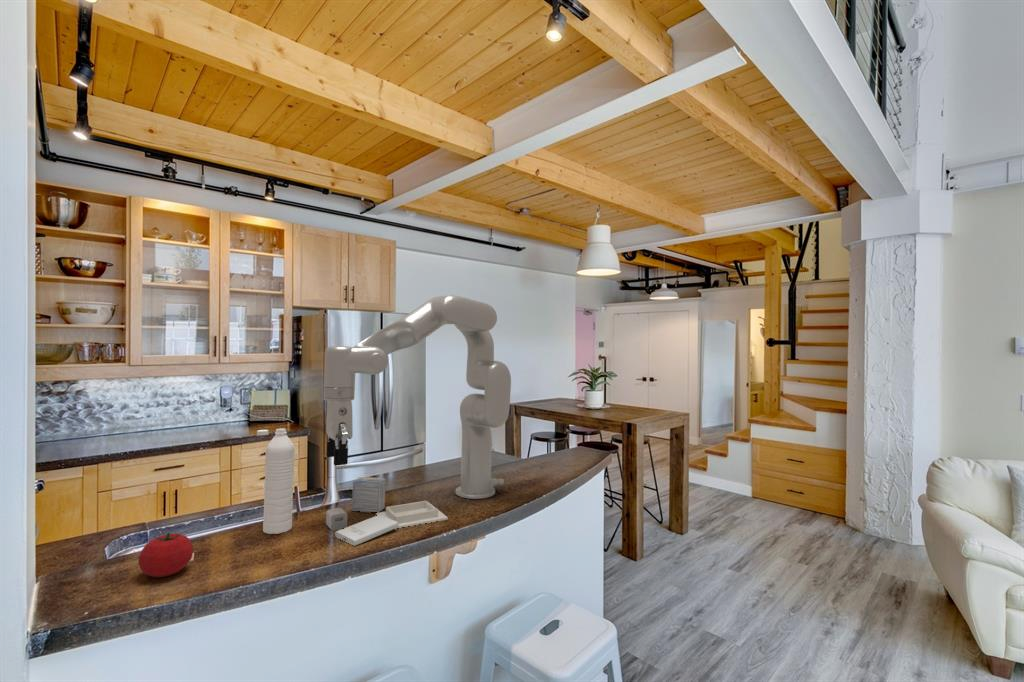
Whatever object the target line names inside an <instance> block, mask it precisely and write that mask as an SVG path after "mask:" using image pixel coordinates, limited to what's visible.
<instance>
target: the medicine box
mask: <svg viewBox="0 0 1024 682" xmlns="http://www.w3.org/2000/svg"><path fill="white" fill-rule="evenodd" d="M351 499H352V502H351V503H352V504H351V505H352V506H351V511H360V512H359V513H371V512H377V513H379V512H380V511H381V512H383V510H384V509H386V503H385V502H386V478H384V477H371V476H369V477H367V476H359V477H357V478H355V480H353V481H352V498H351Z"/></svg>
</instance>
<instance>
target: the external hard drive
mask: <svg viewBox="0 0 1024 682" xmlns="http://www.w3.org/2000/svg"><path fill="white" fill-rule="evenodd" d="M396 528H398V522H397V521H394V520H392V519H389V518H387V517H384V516H382V515H377V516H376V515H375V516H373V517H369V518H367V519H365V520H362V521H360V522H357V523H354V524H352V525H349V526H347V527H346V528H344V529H339V530H335V532H334V537H335V538H336V539H339V540H340V539H341V540H340V541H342V540H343V541H342V542H344V541H345V542H344V543H346V542H347V543H346V544H348V543H349V544H348V545H350V544H351V545H350V546H352V545H353V546H352V547H354V546H355V547H356V546H358V545H360V544H362V543H363V544H364V542H367V541H369V540H372V539H374V538H376V537H380V536H382V535H383V534H386V533H388V532H391V531H393V529H394V530H397V529H396Z"/></svg>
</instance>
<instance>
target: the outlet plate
mask: <svg viewBox="0 0 1024 682" xmlns="http://www.w3.org/2000/svg"><path fill="white" fill-rule="evenodd" d="M376 515H382V516H384V517H387V518H389V519H392V520H394V521H397V522H398V528H399V529H403V528H402V527H405V528H409V527H408V526H410V527H415V526H414V525H416V526H420V525H419V524H421V525H426V524H425V523H427V524H431V522H432V523H437V522H436V521H438V522H442V521H446V520H447V521H448V520H449V519H448V516H447V515H446V514H444V513H443V512H442V511H441V510H439V509H438V508H437V507H436V506H434V505H433V504H432V503H430V502H429V501H427V500H422V501H415V502H409V503H405V504H397V505H390V506H389V505H388V506H385V511H381V512H379V513H375V516H376ZM395 530H398V529H397V528H396V529H395Z"/></svg>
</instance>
